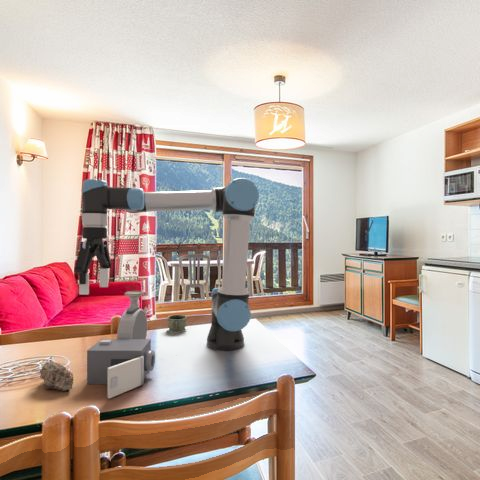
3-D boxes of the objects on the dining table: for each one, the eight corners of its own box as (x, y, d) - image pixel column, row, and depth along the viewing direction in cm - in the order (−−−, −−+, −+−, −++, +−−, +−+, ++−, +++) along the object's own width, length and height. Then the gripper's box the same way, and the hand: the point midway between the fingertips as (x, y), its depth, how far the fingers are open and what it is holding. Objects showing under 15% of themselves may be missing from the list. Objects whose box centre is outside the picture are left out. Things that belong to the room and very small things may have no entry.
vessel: (168, 326, 149) (168, 313, 149) (186, 326, 150) (187, 313, 150) (166, 334, 137) (166, 320, 137) (186, 333, 138) (186, 320, 138)
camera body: (157, 369, 102) (157, 336, 101) (148, 384, 92) (148, 348, 91) (101, 369, 101) (101, 336, 101) (86, 384, 91) (86, 348, 91)
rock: (48, 358, 95) (29, 367, 85) (86, 357, 96) (71, 366, 86) (46, 382, 94) (26, 394, 84) (85, 381, 95) (69, 393, 85)
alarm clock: (127, 348, 120) (128, 301, 119) (153, 349, 119) (154, 302, 119) (108, 366, 103) (108, 312, 103) (138, 367, 103) (139, 313, 103)
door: (141, 382, 92) (141, 355, 91) (145, 384, 90) (145, 357, 90) (107, 397, 83) (107, 367, 83) (110, 399, 82) (110, 369, 82)
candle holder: (149, 340, 130) (150, 291, 129) (132, 346, 122) (132, 295, 122) (135, 336, 134) (136, 289, 134) (118, 341, 127) (118, 292, 127)
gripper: (101, 227, 115) (100, 284, 116) (61, 225, 90) (61, 297, 91) (120, 227, 115) (120, 284, 116) (86, 225, 90) (86, 298, 91)
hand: (94, 290), depth 103 cm, fingers open, 13 cm apart
